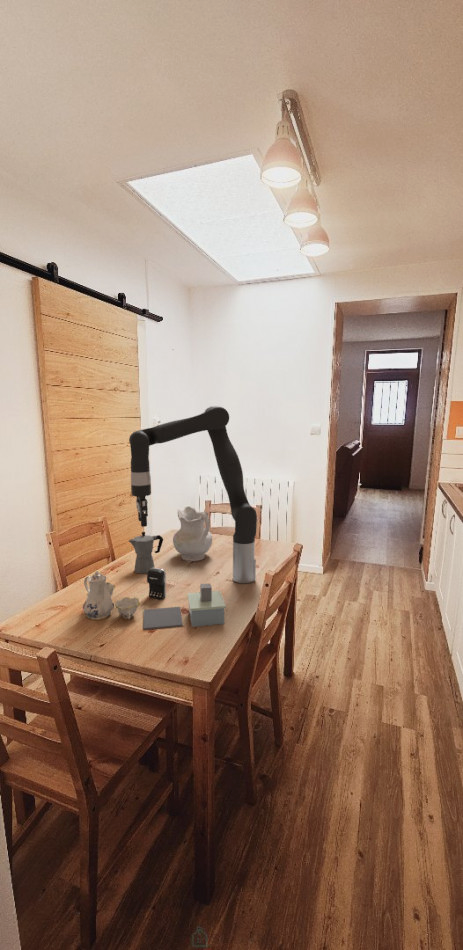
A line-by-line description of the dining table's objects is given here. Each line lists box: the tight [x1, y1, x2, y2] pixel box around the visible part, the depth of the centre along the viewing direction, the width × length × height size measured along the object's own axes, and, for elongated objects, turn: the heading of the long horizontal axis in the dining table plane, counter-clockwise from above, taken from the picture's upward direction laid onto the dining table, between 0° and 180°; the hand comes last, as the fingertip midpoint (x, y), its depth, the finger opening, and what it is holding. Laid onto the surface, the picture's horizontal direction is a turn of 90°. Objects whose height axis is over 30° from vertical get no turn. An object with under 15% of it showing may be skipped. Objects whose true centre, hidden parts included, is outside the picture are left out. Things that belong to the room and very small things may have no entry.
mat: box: [142, 606, 184, 631], centre depth 145 cm, size 13×13×1 cm
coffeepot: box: [128, 531, 164, 575], centre depth 187 cm, size 15×9×18 cm, turn 113°
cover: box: [186, 583, 227, 611], centre depth 144 cm, size 12×12×6 cm
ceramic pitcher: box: [172, 506, 213, 562], centre depth 203 cm, size 22×20×25 cm
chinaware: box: [82, 570, 141, 621], centre depth 149 cm, size 28×17×17 cm, turn 50°
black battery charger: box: [146, 567, 167, 600], centre depth 160 cm, size 7×4×11 cm, turn 70°
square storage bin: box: [188, 607, 225, 628], centre depth 145 cm, size 11×11×6 cm
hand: (142, 523), depth 163 cm, fingers open, 8 cm apart
